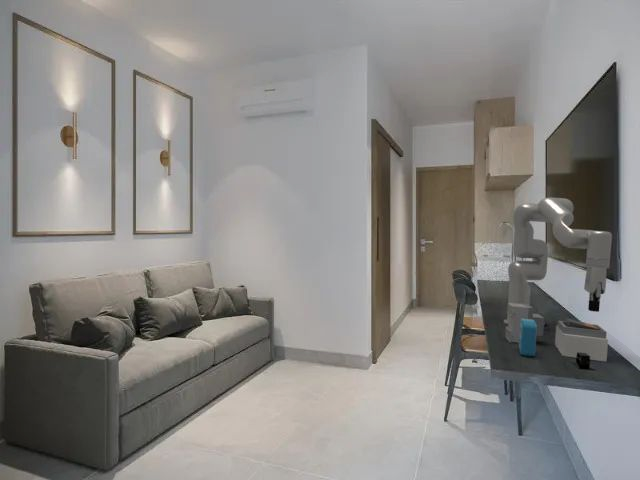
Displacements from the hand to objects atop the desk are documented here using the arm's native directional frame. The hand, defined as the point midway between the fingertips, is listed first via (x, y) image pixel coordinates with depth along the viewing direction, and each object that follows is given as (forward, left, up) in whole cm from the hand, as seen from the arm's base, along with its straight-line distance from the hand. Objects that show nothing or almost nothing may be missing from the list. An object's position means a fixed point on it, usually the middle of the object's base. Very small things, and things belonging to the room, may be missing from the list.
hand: (593, 310), depth 159 cm
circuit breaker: (-7, -22, -17) cm, 29 cm away
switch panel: (0, -4, -17) cm, 17 cm away
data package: (+11, -23, -17) cm, 31 cm away
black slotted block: (+18, -6, -18) cm, 26 cm away
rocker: (0, -4, -7) cm, 8 cm away
